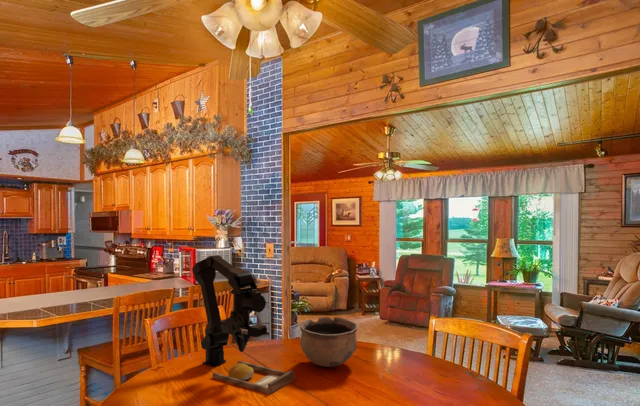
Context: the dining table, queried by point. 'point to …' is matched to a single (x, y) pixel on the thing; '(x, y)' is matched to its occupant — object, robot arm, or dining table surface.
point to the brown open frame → (266, 384)
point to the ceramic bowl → (328, 340)
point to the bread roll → (241, 371)
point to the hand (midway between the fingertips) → (241, 351)
